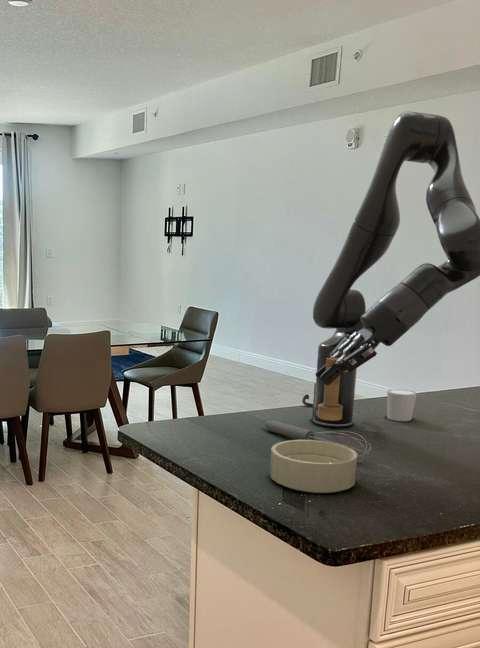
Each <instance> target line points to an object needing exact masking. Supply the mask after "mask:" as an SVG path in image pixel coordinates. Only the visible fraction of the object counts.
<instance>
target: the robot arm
mask: <svg viewBox="0 0 480 648" xmlns="http://www.w3.org/2000/svg"><path fill="white" fill-rule="evenodd" d="M404 162H411V163H418V164H428V165H429V166H430V167H431V169H432V171H433V172H434V174H433V176H432V178H431V180H430V182H429V184H428V186H427V188H426V192H425V203H426V207H427V210H428V212H429V214H430V217H431V220H432V222H433V224H434V227H435V228H436V233H437V237H438V241H439V243H440V246H441V248H442V250H443V253H444V254H445V256H446V258H447V260H445V262H443V263H442V264H440V265H438V266H437V265H435V264H432V263H429V262H425V263H422V264H420V265H419V266H417V267H416V268H415V269H414V270H412V272H410V273H409V274H408V275H406V277H404V278H403V280H402V281H400V283H398V284H397V285H395V286H394V287H392V288H391V289H390V290H388V291H387V292H386V293H385V294H384V295H383V296H382V297H381V298H379V299H378V300H377V301H376V302H375V303H374V304H373V305H372V306H371V307H369V309H367V306H366V305H367V304H366V301H365V297H364V295H363V294H362V293H361V292H360V291H359V290H357V289H352V287H353V285H354V284H355V283H356V282H357V280H359V278H360V277H362V275H364V274H365V273H366V272H367V271H369V269H370V268H372V267H373V266H374V265H375V264H376V263H378V261H379V260H380V259H381V258H383V256H384V255H385V254H386V253H387V252H388V250H389V248H390V246H391V245H392V243H393V240H394V238H395V236H396V234H397V232H398V230H399V227H400V223H401V214H400V207H399V202H398V196H397V180H398V176H399V173H400V170H401V168H402V166H403V164H404ZM461 168H462V167H461V162H460V155H459V151H458V145H457V139H456V135H455V130H454V127H453V124H452V122H451V121H450V119H449V118H448V117H446V116H443V115H439V114H433V113H426V112H417V111H410V110H409V111H403V112H401V113H400V114H399V115H398V116H397V117H396V118H395V119H394V121H393V123H392V125H391V126H390V129H389V131H388V133H387V136H386V138H385V142H384V144H383V147H382V150H381V153H380V156H379V159H378V161H377V164H376V168H375V170H374V174H373V176H372V179H371V181H370V184H369V186H368V189H367V191H366V193H365V196H364V198H363V201H362V202H361V205H360V207H359V209H358V211H357V213H356V215H355V217H354V220H353V222H352V224H351V226H350V228H349V231H348V234H347V235H346V236H347V237H346V239H345V241H344V243H343V246H342V248H341V250H340V253H339V255H338V257H337V259H336V261H335V263H334V264H333V267H332V269H331V271H330V272H329V274H328V275H327V277H326V279H325V281H324V283H323V285H322V287H321V289H320V290H319V292H318V294H317V295H316V297H315V300H314V303H313V308H312V318H313V321H314V324H315V325H316V326H317V327H319V328H321V329H327V330H333V329H335V331H334V333H333V334H332V335H331V336H330V337H329V338H327V339H326V340H323V341H322V342H320V343H319V344H318V346H317V362H316V372H315V378H316V379H315V383H314V386H313V387H314V388H313V389H314V390H313V399H312V400H313V402H311V403H310V402H307V401H306V400H310V395H309V394H305V395H304V396H303V397H302V400H301V401H302V404H303V405H305V406H307V407H311V408H312V416H311V417H312V422H313V424H315V425H317V426H322V427H325V428H348V427H351V426H353V425H354V420H353V416H354V408H355V407H354V406H355V405H354V404H355V393H356V382H357V371H358V369H357V368H359V367H360V366H362V365H364V364H366V362H368V361H370V360H371V359H373V358H375V357H376V356H377V355H378V352H377V351H376V348H377V347H378V346H379V345H380V344H383V345H384V346H387V347H390V346H392V345H393V344H395V343H396V342H397V341H398V340H399V339H400V338H401V337H402V336H404V335H405V334H406V333H407V332H408V331H409V330H410V329H412V328H413V327H415V325H416V324H418V322H420V321H421V319H422V318H423V317H424V316H425V315H426V313H428V312H429V311H430V310H431V309H432V308H433V307H435V305H436V304H438V303H439V302H440V301H441V300H442V299H443V298H444V297H445V296H446V295H448V294H449V293H452V292H453V291H454V292H455V290H458V289H460V288H462V287H463V286H465V285H467V284H468V283H470V282H472V281H474V280H475V279H477V278H479V277H480V216H479V215H478V213H477V210H476V206H475V204H474V201H473V199H472V196H471V194H470V192H469V190H468V188H467V186H466V183H465V181H464V178H463V177H464V176H463V174H462V169H461ZM330 357H335V358H339V359H338V360H337V361H336V362H335V364H336V365H335V364H333V365H332V366H330V367H329V368H328V369H327V370H326V359H327V358H330ZM338 376H340V383H339V397H338V404H340V405H342V406H343V411H342V419H341V420H336V421H330V420H323V419H320V418H318V417H317V416H318V405H319V404H321V403H323V402H324V387H325V385H329V384H331V383H332V382H333V381H334V380H335V379H336V378H337V377H338Z"/></svg>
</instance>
